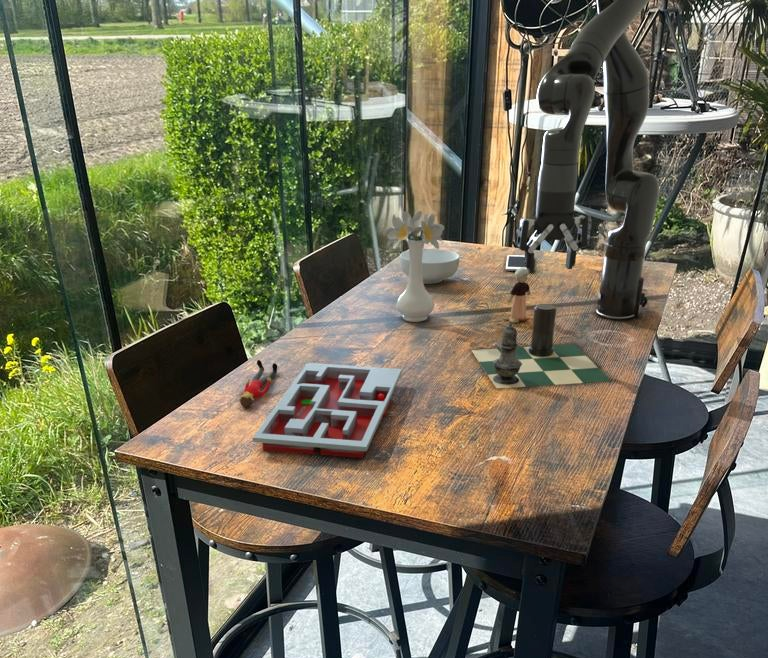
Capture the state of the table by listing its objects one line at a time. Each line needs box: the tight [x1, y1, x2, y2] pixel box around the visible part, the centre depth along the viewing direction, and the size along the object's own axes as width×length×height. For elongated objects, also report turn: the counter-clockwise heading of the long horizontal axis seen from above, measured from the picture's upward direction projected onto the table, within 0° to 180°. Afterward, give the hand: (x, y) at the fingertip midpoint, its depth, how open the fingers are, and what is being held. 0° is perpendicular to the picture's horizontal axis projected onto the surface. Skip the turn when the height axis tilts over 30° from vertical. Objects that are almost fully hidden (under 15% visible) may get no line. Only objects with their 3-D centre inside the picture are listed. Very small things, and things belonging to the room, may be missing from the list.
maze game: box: [252, 362, 403, 459], centre depth 148 cm, size 35×20×3 cm, turn 169°
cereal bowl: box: [399, 248, 460, 285], centre depth 225 cm, size 17×17×7 cm
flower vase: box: [385, 210, 445, 323], centre depth 192 cm, size 13×18×25 cm
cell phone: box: [505, 254, 527, 272], centre depth 240 cm, size 8×16×1 cm, turn 171°
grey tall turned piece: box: [493, 322, 522, 385], centre depth 160 cm, size 6×6×12 cm
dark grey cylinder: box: [528, 303, 557, 357], centre depth 174 cm, size 5×5×10 cm
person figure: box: [239, 359, 278, 409], centre depth 159 cm, size 5×4×18 cm
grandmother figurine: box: [507, 268, 532, 324], centre depth 193 cm, size 8×4×13 cm, turn 143°
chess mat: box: [470, 343, 612, 390], centre depth 170 cm, size 24×22×1 cm
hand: (549, 269), depth 167 cm, fingers open, 8 cm apart
